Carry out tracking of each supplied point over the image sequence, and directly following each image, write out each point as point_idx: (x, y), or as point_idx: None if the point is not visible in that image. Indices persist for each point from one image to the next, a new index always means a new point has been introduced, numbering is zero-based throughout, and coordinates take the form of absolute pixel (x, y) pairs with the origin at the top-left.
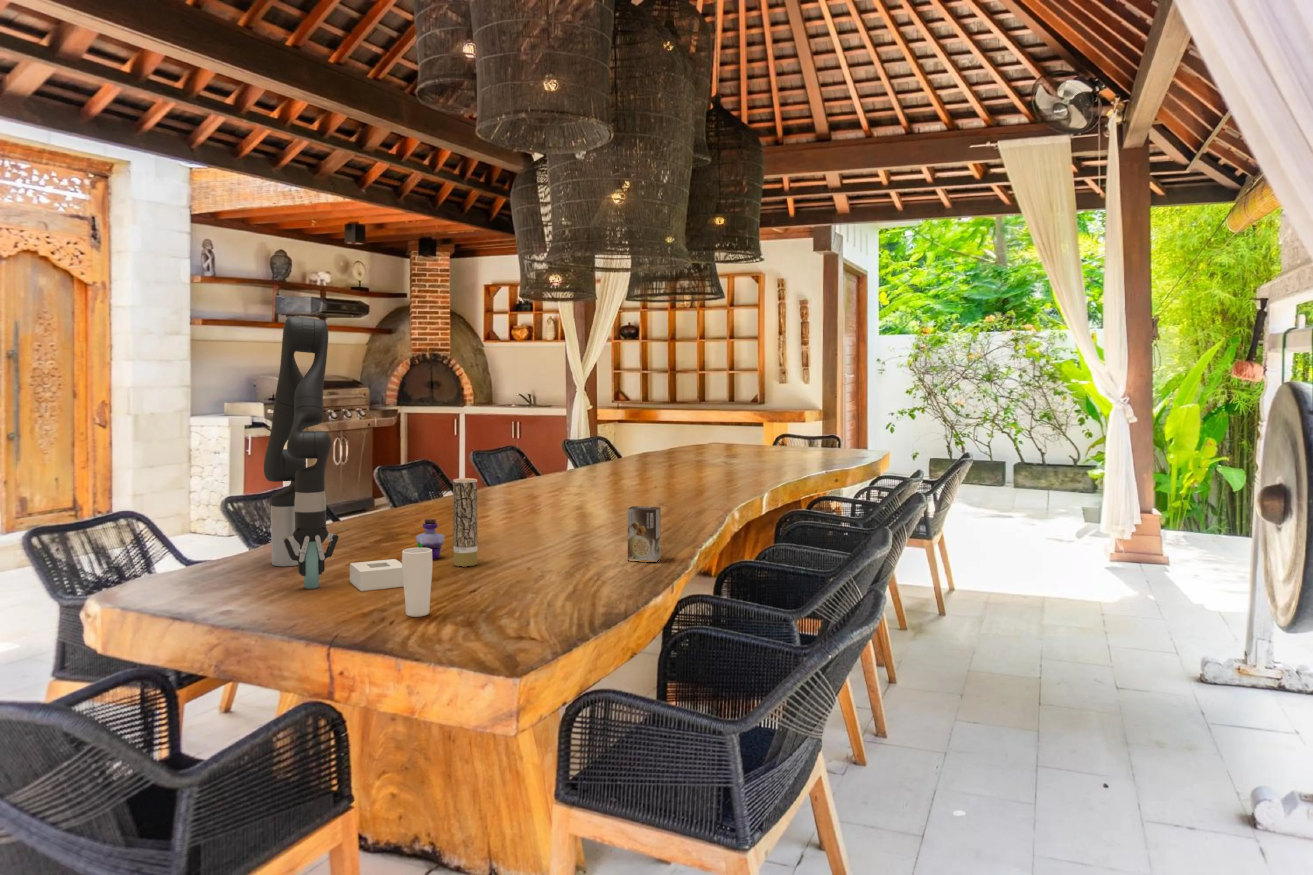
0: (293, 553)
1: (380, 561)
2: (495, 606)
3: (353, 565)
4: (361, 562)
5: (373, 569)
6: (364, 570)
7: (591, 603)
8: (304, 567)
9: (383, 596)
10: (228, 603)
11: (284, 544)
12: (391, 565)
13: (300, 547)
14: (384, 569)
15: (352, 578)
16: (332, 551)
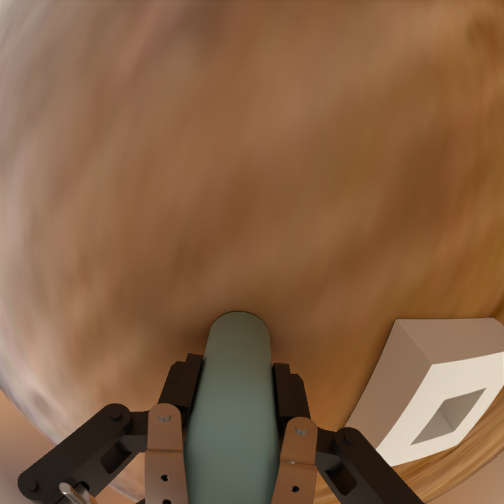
0: (117, 465)
1: (492, 368)
2: None
3: (409, 405)
4: (461, 365)
5: (398, 458)
6: None
7: (447, 485)
8: None
9: None
10: (24, 353)
11: (43, 465)
12: (459, 425)
13: (153, 476)
14: (413, 459)
15: (388, 368)
16: (348, 478)
